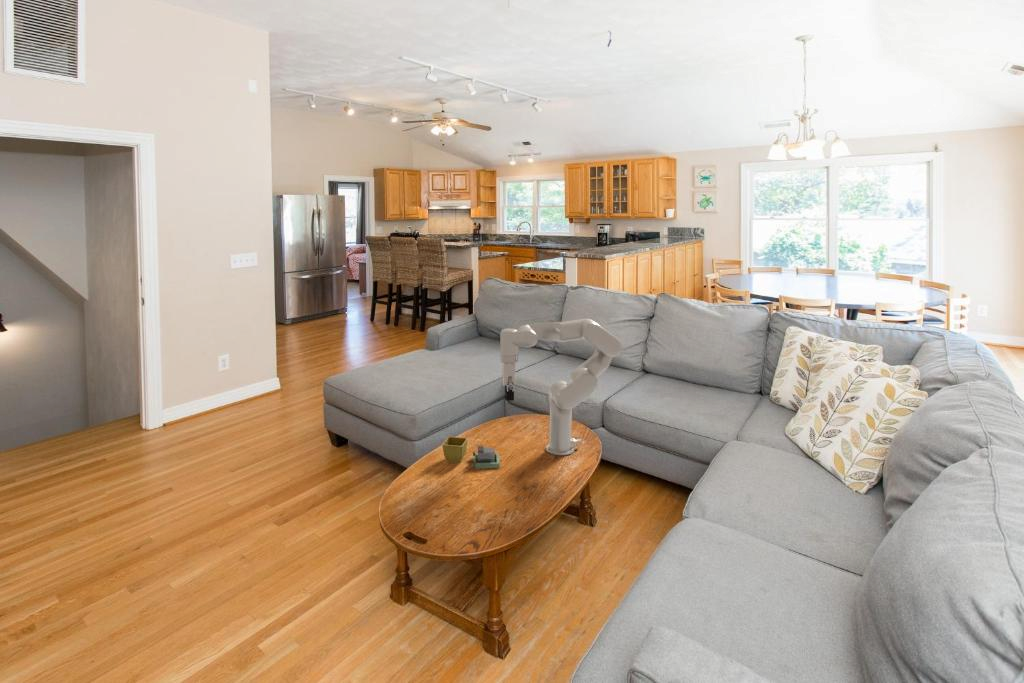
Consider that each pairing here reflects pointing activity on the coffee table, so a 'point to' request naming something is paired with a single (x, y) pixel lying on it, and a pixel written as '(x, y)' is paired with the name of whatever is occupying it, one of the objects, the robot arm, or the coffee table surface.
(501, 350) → the robot arm
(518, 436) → the coffee table surface
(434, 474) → the coffee table surface
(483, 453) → the chute block
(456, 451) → the flower pot
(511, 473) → the coffee table surface
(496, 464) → the frame
